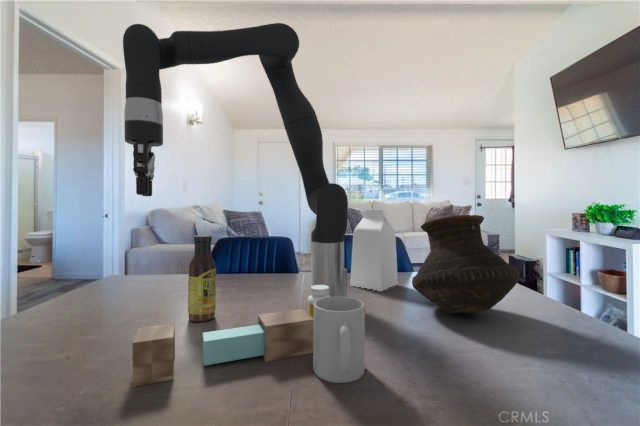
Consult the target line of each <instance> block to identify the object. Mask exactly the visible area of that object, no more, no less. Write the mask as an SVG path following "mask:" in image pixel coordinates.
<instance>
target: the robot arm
mask: <svg viewBox="0 0 640 426" xmlns="http://www.w3.org/2000/svg"><path fill="white" fill-rule="evenodd" d="M299 48H300V39H299V36H298V34H297V32H296V31H295V29H294V28H293V27H292V26H290V25H289V24H286V23H282V22H275V23H267V24H263V25H261V24H260V25H257V26H250V27H243V28H236V29H235V28H234V29H226V30H225V29H223V30H221V29H220V30H176V31H173V32H172V33H171V35H170V36H169V37H164V38H159V37H158V35H157V33H156V32H155V31H154V30H153V29H152V28H150V27H149V26H147V25H146V24H142V23H134V24H131V25H130V26H128V27H127V28H125V31H124V33H123V36H122V50H123V59H124V68H125V103H124V104H125V105H124V112H123V113H124V115H123V116H124V119H123V120H124V141H125V143H126V144H129V145H132V147H133V150H132V156H133V157H132V158H133V162H132V163H133V164H132V165H133V169H132V170H133V173H134V176H135V194H136V195H138V196H142V197H152V196H153V181H154V177H155V169H156V168H155V161H156V154H155V152H154V151H152V148H153V147H156V148H157V147H162V146H163V145H164V114H163V105H162V94H163V93H162V84H161V78H160V70H166V69H170V68H175V67H178V66H184V65H211V64H217V63H223V62H225V61H230V60H233V59H236V58H241V57H246V56H247V57H248V56H258V58H259V60H260V63H261V66H262V68H263V70H264V72H265V74H266V77H267V79H268V81H269V85H270V86H271V88H272V91H273V94H274V97H275V101H276V104H277V107H278V111H279V113H280V116H281V119H282V123H283V127H284V130H285V133H286V135H287V139H288V141H289V144H290V146H291V147H290V148H291V149H292V150H291V151H292V153H293V155H294V158H295V161H296V164H297V167H298V169H299V172H300V175H301V179H302V184H303V189H304V192H305V198H306V201H307V205H308V208H309V209H310V211H311V212H312V213H313V214H315V217H316V220H315V225H314V226H315V227H314V228H313V230H312V231H311V233H310V234H311V235H310V240H311V242H310V248H311V249H310V258H311V259H310V264H311V265H310V267H311V268H310V271H311V272H310V287H311V286H314V285H326V286H329V294H328V295H329V296H330V297H348V270H347V268H345V235H346V233H347V228H348V217H349V216H348V214H349V199H348V195H347V192H346V190H345V189H344V187H343V186H341V184H338V183H332V182H331V183H330V181H329V179H328V176H327V173H326V169H325V166H324V158H323V157H324V155H323V154H324V152H323V151H324V147H323V146H324V144H323V142H324V141H323V139H324V138H323V133H322V129H321V126H320V122H319V119H318V117H317V114H316V111H315V109H314V107H313V105H312V104H311V102H310V100H308V98H307V97H306V95H304V93H303V91H302V90H301V88H300V86H299V84H298V81H297V80H296V75H295V73H294V68H293V64H292V63H293V62H292V61H293V59H294V58H295V57H296V56H297V54H298V51H299ZM311 295H312V294H311V293H310V296H311Z"/></svg>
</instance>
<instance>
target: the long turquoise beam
mask: <svg viewBox="0 0 640 426" xmlns="http://www.w3.org/2000/svg"><path fill="white" fill-rule="evenodd" d="M263 355H265V328H264V326H263V325H262V324H260V325H258V324H255V325H249V326H247V325H246V326H241V327H233V328H226V329H219V330H212V331H206V332H202V359H203V366H204V367H205V366H210V365H215V364H220V363H228V362H232V361H237V360H238V361H239V360H243V359H249V358H255V357H259V356H260V357H261V356H263Z"/></svg>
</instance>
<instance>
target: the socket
mask: <svg viewBox="0 0 640 426" xmlns="http://www.w3.org/2000/svg"><path fill="white" fill-rule="evenodd" d="M175 325H176V324H175V323H166V324H159V325H150V326H142V327H138V328H137V331H136V333H135V335H134V338H133V341H132V388H134V387H140V386H146V385H150V384H157V383H161V382H166V381H172V380H174V378H175V364H176V363H175V362H176V357H175V356H176V343H175V342H176V340H175V337H176V334H175V333H176V332H175V331H176V330H175V329H176V327H175Z"/></svg>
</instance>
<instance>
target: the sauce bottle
mask: <svg viewBox="0 0 640 426" xmlns="http://www.w3.org/2000/svg"><path fill="white" fill-rule="evenodd" d="M212 241H213V238H212V235H194V236H193V243H194V256H193V257H192V259H191V261H190V263H189V265H188V280H187V281H188V282H187V283H188V286H187V289H188V291H187V292H188V294H187V306H188V307H187V313H188V320H189V321H191V322H193V323H195V322H196V323H200V322H206V321H210V320H212V319H214V317H215V314H216V310H217V302H216V301H217V297H216V296H217V267H216V264H215V261H214V259H213V255H212Z"/></svg>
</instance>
